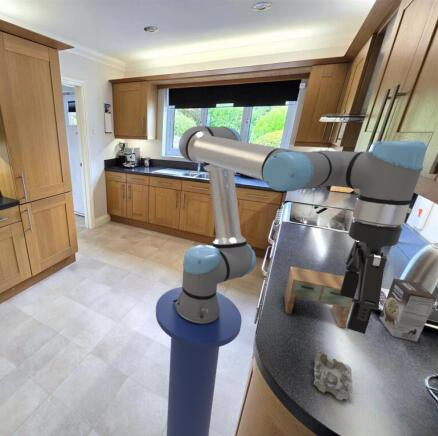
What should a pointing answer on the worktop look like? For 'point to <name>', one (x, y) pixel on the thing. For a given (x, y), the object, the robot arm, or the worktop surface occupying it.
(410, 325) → the coffee box
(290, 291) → the drawer unit
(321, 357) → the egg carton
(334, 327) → the worktop surface
